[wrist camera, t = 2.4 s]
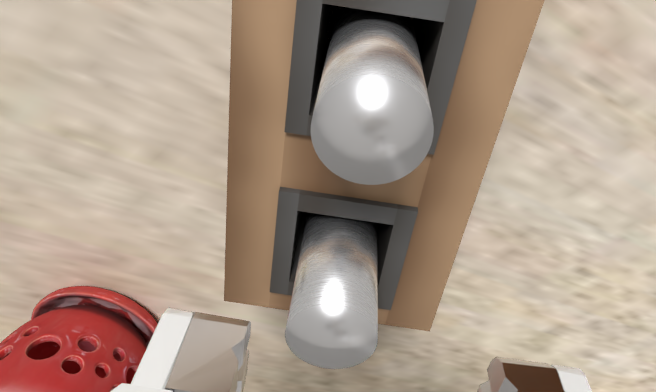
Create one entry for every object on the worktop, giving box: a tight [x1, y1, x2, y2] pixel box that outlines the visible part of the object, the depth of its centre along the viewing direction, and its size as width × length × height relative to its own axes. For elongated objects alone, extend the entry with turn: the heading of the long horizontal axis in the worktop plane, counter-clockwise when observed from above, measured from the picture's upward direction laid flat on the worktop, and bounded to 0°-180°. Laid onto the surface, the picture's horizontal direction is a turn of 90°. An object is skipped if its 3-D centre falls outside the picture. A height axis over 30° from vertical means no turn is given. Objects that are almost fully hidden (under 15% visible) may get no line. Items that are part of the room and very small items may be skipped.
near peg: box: [311, 7, 434, 185], centre depth 21 cm, size 4×4×10 cm
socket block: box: [224, 0, 544, 331], centre depth 29 cm, size 12×20×10 cm, turn 172°
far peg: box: [285, 212, 378, 369], centre depth 27 cm, size 4×4×10 cm
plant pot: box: [0, 286, 158, 392], centre depth 43 cm, size 13×13×12 cm
